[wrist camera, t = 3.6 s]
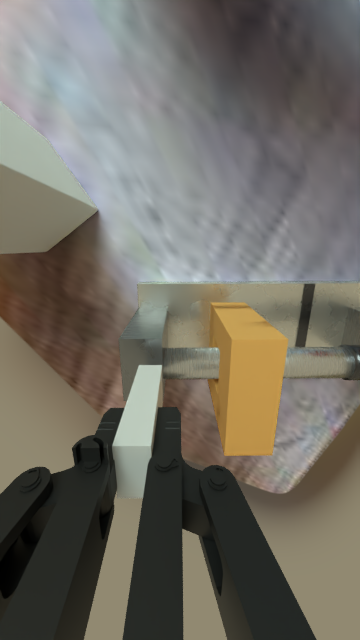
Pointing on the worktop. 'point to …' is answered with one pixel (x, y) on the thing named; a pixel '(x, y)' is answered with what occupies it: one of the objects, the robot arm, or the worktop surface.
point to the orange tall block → (246, 378)
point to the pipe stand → (264, 298)
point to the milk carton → (35, 190)
